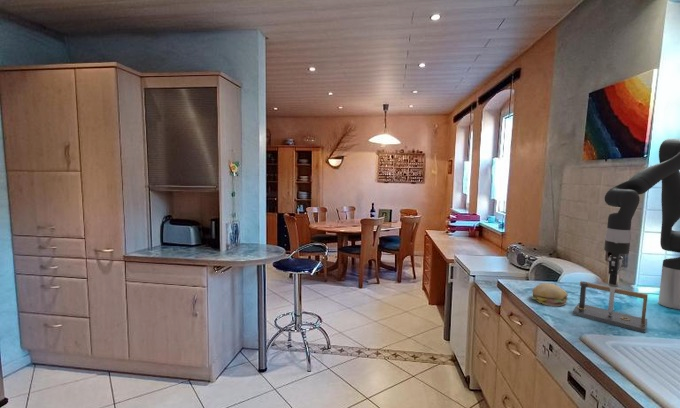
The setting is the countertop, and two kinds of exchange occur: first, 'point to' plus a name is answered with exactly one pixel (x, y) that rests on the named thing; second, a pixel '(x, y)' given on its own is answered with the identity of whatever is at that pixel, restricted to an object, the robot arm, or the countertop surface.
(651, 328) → the countertop surface
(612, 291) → the grey elongated rounded piece
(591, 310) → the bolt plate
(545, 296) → the burger
